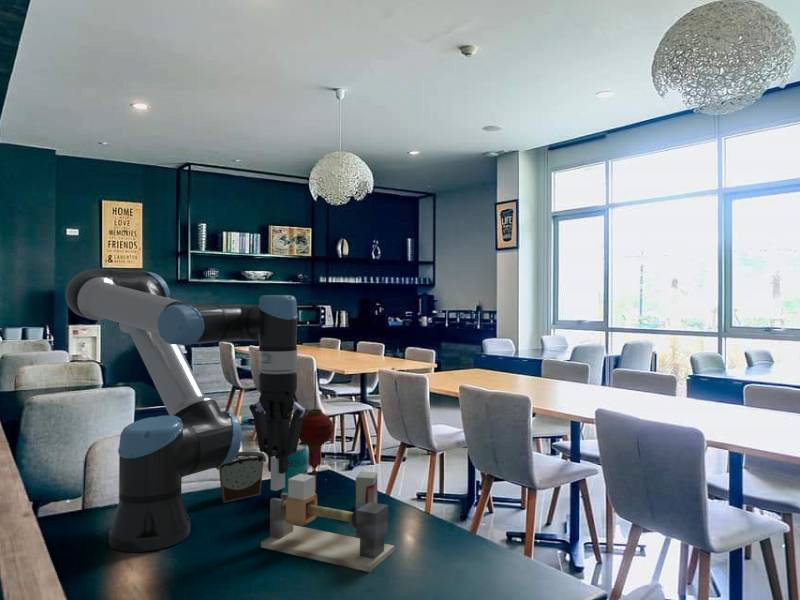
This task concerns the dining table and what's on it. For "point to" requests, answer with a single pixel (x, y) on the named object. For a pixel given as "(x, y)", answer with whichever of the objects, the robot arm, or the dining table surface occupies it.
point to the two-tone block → (300, 499)
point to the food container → (241, 476)
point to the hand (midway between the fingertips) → (277, 488)
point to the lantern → (315, 434)
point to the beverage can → (296, 465)
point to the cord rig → (332, 535)
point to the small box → (366, 488)
